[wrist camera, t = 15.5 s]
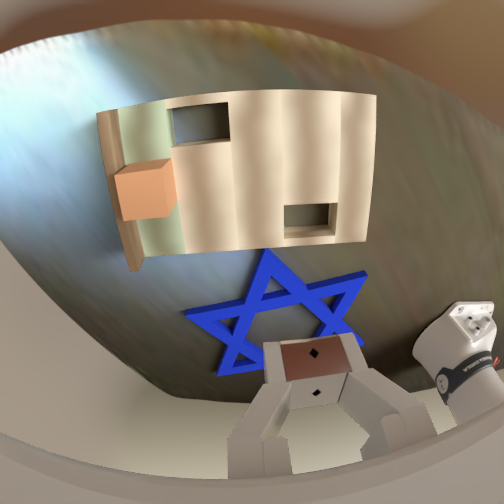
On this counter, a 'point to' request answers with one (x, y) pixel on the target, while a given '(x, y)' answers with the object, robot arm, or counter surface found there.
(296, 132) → the board
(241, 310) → the symbol
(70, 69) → the counter surface
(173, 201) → the block
